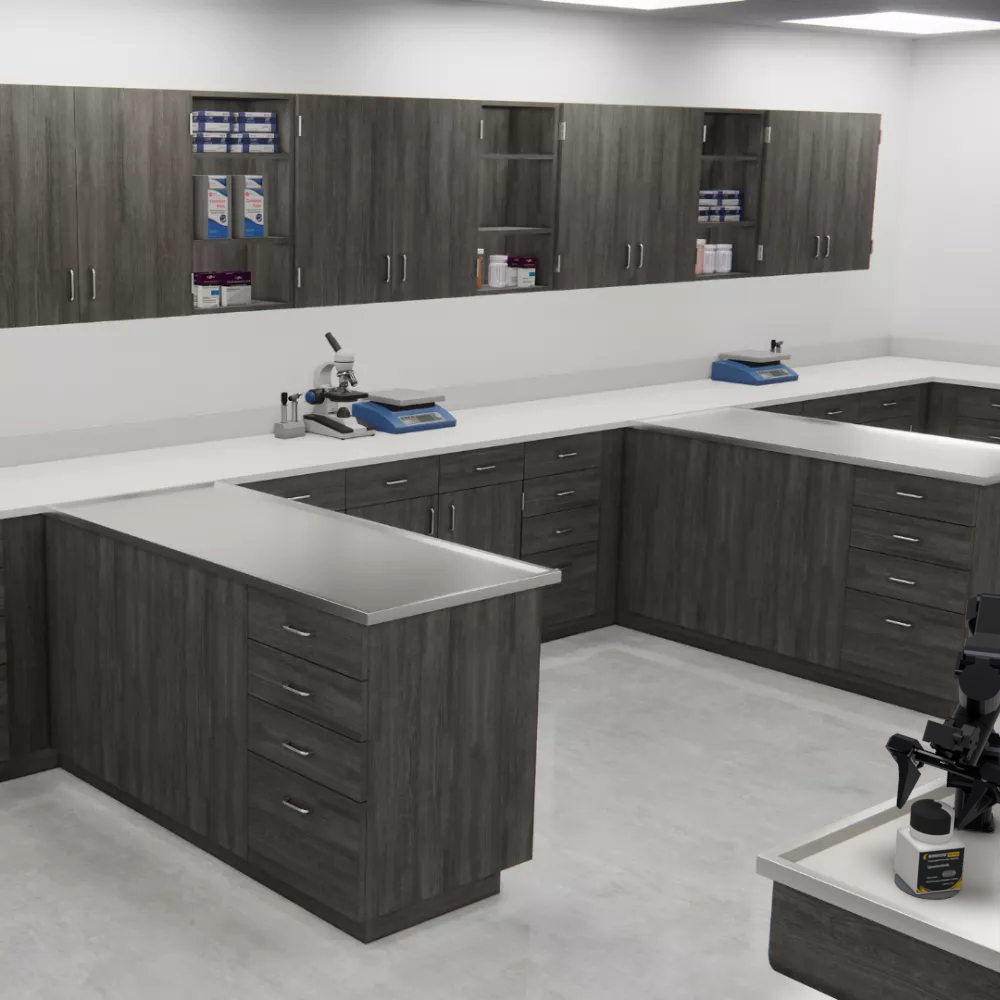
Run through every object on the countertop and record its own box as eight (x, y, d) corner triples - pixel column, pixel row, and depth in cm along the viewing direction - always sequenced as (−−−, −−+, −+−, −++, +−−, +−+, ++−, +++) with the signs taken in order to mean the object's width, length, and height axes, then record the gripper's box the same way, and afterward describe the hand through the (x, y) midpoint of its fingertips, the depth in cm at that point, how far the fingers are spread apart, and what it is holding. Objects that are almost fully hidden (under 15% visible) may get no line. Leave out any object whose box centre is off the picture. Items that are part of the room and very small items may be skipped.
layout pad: (894, 864, 214) (895, 862, 214) (958, 872, 212) (958, 870, 212) (893, 894, 206) (894, 892, 206) (959, 903, 204) (960, 901, 204)
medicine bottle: (916, 895, 205) (922, 818, 202) (892, 871, 212) (898, 796, 209) (962, 890, 207) (968, 813, 204) (937, 866, 213) (943, 791, 210)
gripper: (896, 681, 211) (850, 773, 207) (1017, 717, 198) (971, 816, 194) (920, 716, 219) (876, 806, 214) (1038, 753, 206) (994, 849, 201)
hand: (927, 818), depth 206 cm, fingers open, 9 cm apart
